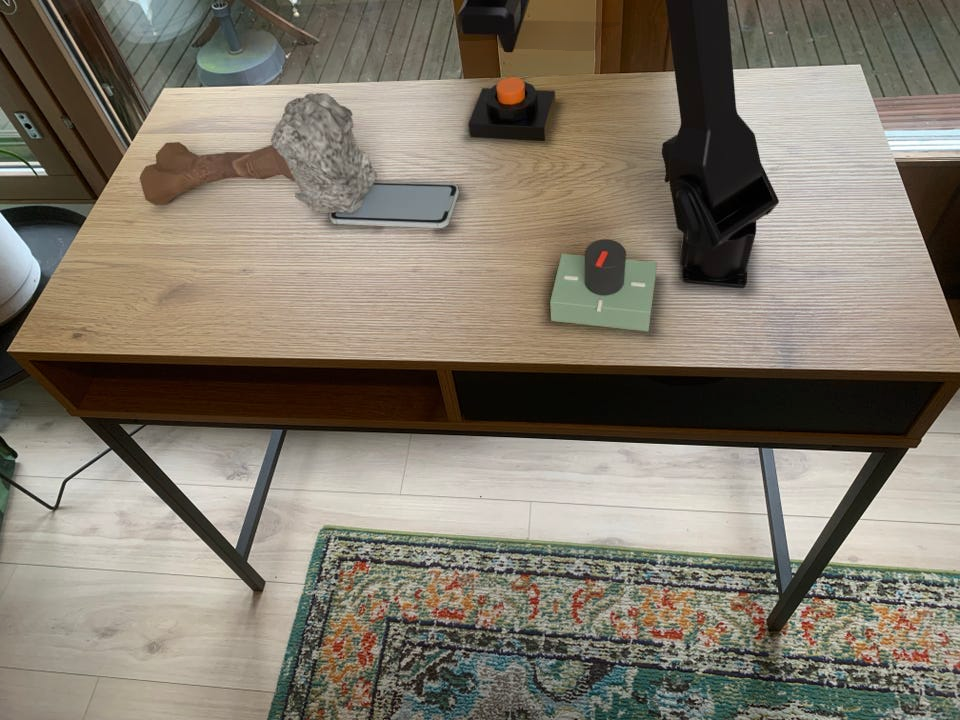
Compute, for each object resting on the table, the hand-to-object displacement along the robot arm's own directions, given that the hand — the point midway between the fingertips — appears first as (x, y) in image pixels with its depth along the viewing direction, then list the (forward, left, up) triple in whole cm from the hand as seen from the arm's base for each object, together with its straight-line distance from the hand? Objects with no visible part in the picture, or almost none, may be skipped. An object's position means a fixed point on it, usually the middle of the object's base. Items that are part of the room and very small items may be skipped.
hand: (509, 50), depth 91 cm
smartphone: (+11, +18, -10) cm, 24 cm away
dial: (-16, +30, -7) cm, 35 cm away
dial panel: (-16, +30, -10) cm, 35 cm away
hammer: (+28, +18, -10) cm, 35 cm away
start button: (0, 0, -7) cm, 7 cm away
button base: (0, 0, -10) cm, 10 cm away
